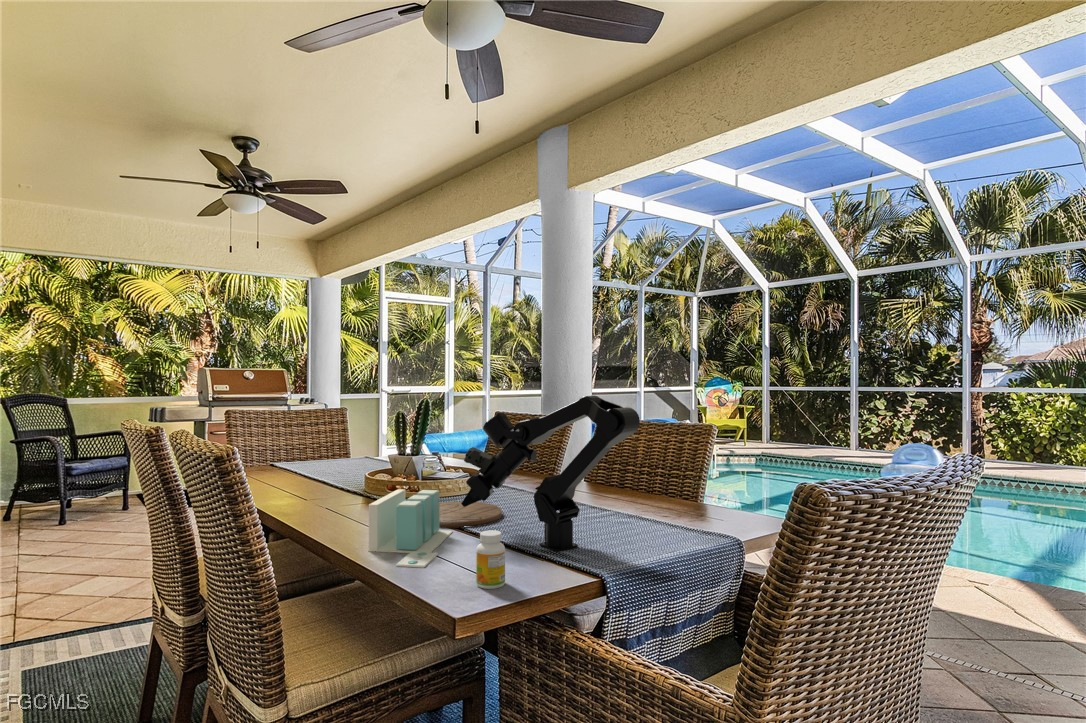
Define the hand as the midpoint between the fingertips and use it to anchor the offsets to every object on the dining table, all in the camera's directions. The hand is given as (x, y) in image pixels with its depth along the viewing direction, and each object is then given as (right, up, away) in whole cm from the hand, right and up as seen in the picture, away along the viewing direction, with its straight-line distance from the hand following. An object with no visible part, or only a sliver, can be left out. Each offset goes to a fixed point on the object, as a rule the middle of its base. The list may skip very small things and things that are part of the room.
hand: (462, 505), depth 155 cm
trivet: (-4, -8, +20) cm, 22 cm away
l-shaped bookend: (-11, -7, -5) cm, 14 cm away
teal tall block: (-10, -7, -12) cm, 17 cm away
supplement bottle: (+10, -7, -35) cm, 37 cm away
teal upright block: (-10, -7, -5) cm, 13 cm away
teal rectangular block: (-9, -7, +1) cm, 11 cm away
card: (-7, -7, -20) cm, 23 cm away
